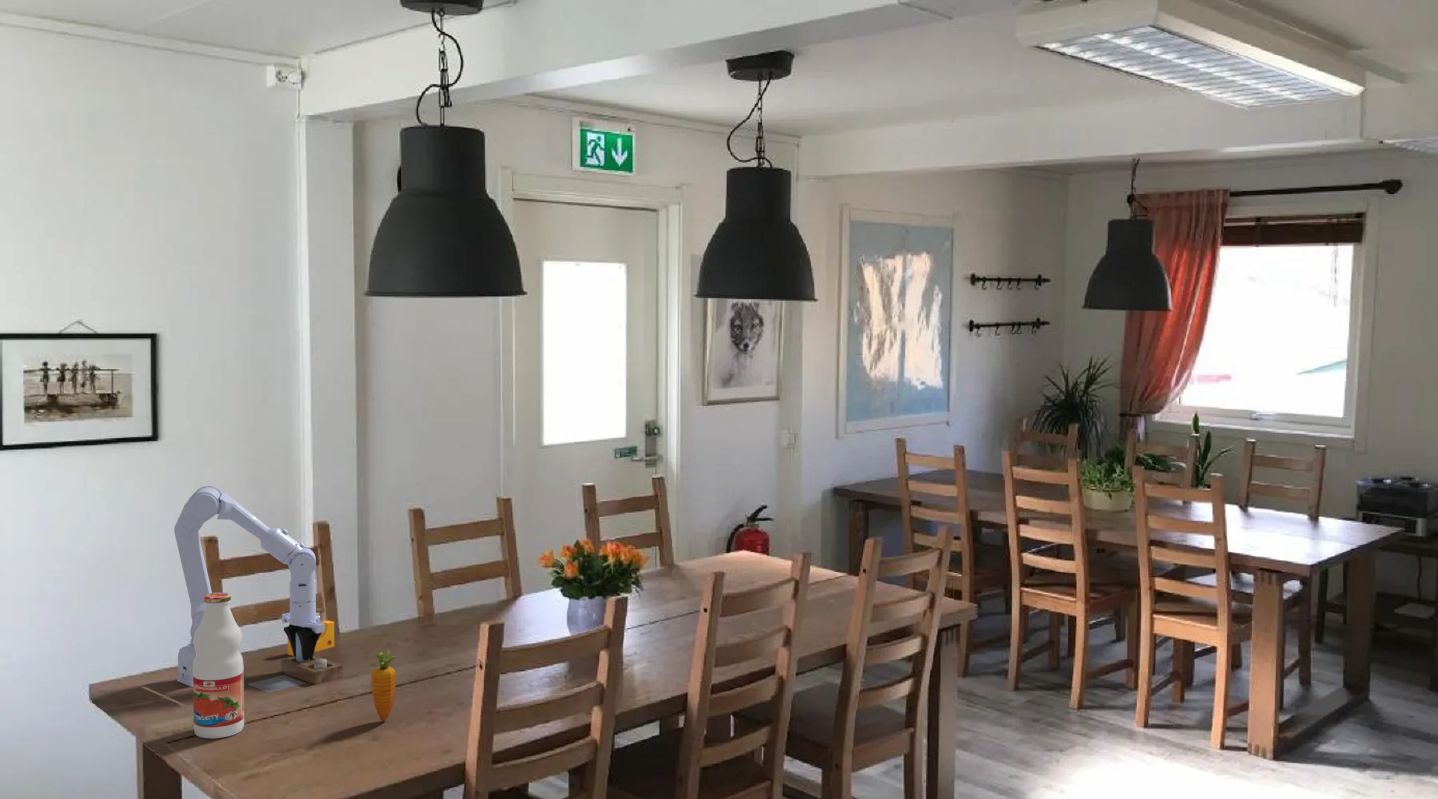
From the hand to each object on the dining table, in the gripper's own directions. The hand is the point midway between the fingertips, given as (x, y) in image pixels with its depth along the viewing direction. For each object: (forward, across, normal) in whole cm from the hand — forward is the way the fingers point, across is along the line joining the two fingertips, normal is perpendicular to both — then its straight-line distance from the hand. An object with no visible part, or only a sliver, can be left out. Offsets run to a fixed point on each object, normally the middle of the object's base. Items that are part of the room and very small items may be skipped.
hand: (303, 657), depth 274 cm
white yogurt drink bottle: (+4, -20, +32) cm, 38 cm away
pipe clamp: (+4, +15, -11) cm, 19 cm away
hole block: (+4, -4, 0) cm, 5 cm away
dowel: (+3, 0, 0) cm, 3 cm away
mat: (+4, -4, +9) cm, 10 cm away
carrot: (+4, -40, +7) cm, 41 cm away
